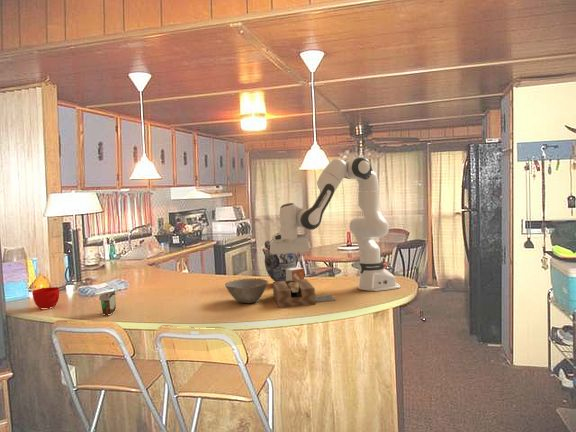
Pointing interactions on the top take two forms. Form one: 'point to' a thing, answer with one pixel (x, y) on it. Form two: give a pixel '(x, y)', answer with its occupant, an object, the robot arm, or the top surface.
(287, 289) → the walnut channel block
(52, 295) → the ceramic cup
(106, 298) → the food container
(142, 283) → the top surface
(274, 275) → the decorative vase
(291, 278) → the small box
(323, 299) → the slate mat
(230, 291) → the ceramic bowl
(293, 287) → the beech bar
